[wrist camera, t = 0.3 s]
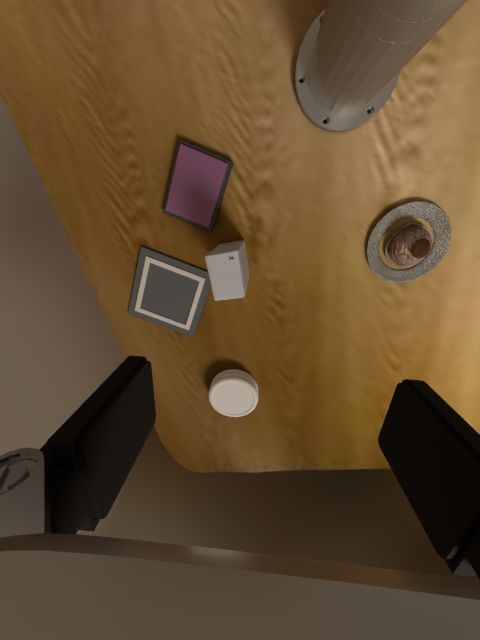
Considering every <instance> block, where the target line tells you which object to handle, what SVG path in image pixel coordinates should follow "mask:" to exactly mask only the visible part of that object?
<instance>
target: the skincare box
mask: <svg viewBox="0 0 480 640" xmlns="http://www.w3.org/2000/svg"><path fill="white" fill-rule="evenodd" d="M205 260H206V265H207V270H208V274H209V278H210V282H211V287H212V291H213V296H214V300H215V301H218V300H227V299H236V298H244V297H245V294H246V289H247V284H248V280H249V275H250V274H249V267H248V261H247V254H246V248H245V241H244V240H242V241H235V242H229V243H224V244H220V245H218V246H217V247H216V248H215V249H213V250H212V251H211V252H209V253H208V254H207V255H206V256H205Z"/></svg>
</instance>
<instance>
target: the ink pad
mask: <svg viewBox="0 0 480 640" xmlns="http://www.w3.org/2000/svg"><path fill="white" fill-rule="evenodd" d="M232 166H233V162H231V161H229V160H227V159H224V158H222V157H220V156H217V155H215V154H213V153H210V152H208V151H205V150H203V149H201V148H198V147H196V146H194V145H191V144H189V143H187V142H184V141H182V140H179V141H178V146H177V151H176V155H175V160H174V164H173V169H172V173H171V178H170V182H169V187H168V191H167V196H166V200H165V205H164V209H163V213H165V214H168V215H170V216H173V217H175V218H178V219H180V220H183V221H185V222H188V223H190V224H193V225H195V226H198V227H200V228H203V229H205V230H208V231H210V232H212V231H213V228H214V225H215V221H216V218H217V215H218V212H219V208H220V205H221V202H222V199H223V195H224V192H225V189H226V186H227V182H228V179H229V176H230V173H231V169H232Z"/></svg>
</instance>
